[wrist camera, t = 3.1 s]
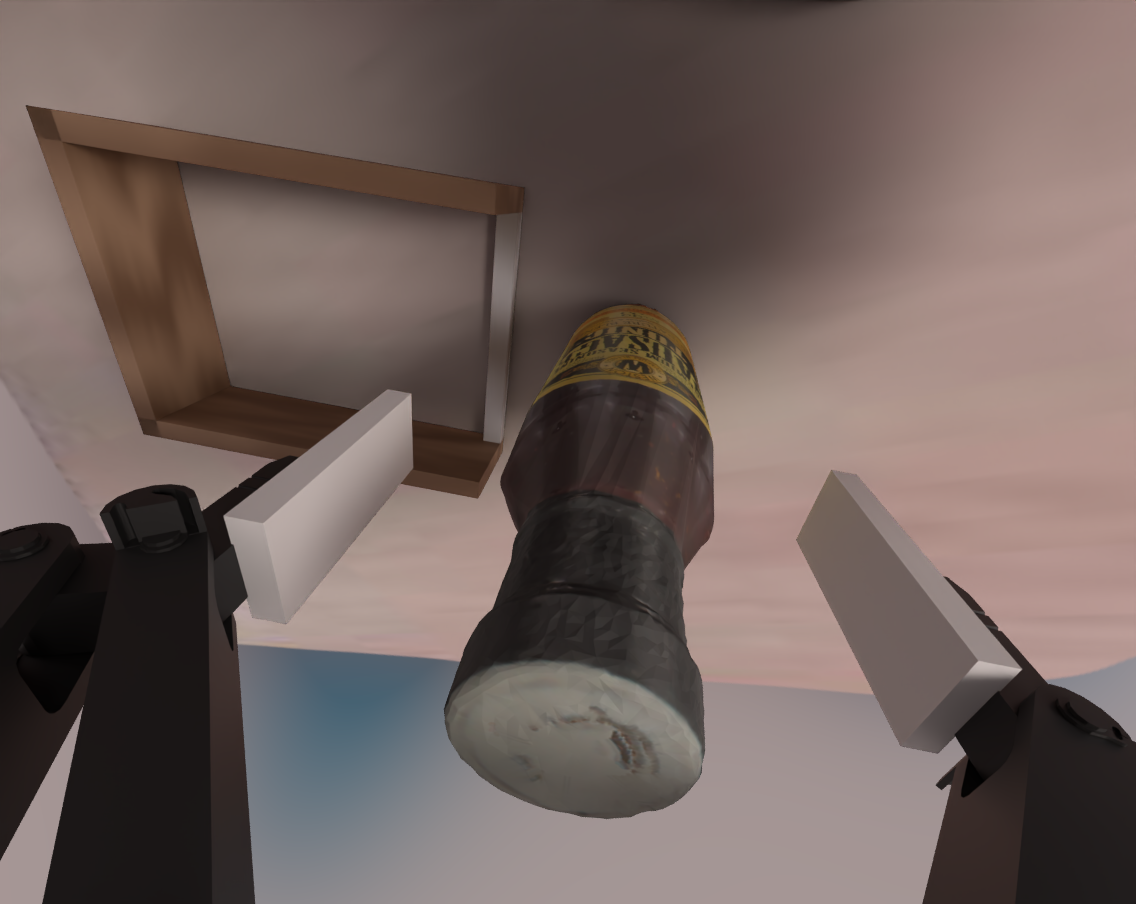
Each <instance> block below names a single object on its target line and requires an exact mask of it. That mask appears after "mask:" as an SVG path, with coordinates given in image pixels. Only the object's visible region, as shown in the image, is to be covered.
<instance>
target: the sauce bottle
mask: <svg viewBox="0 0 1136 904" xmlns="http://www.w3.org/2000/svg"><path fill="white" fill-rule="evenodd" d="M500 483H501V484H500V485H501V489H502V491H503V494H504V496H505V500H506V503H507V506H508V509H509V512H510V515H511V517H512V520H513V523H514V525H515V527H516V529H517V531H518V533H517V535H516V538H515V540H514V544H513V550H512V558H511V562H510V565H509V567H508V570H507V572H506V575H505V577H504V580H503V582H502V585H501V588H500V590H499V593H498V596H497V598H496V601H495V604H494V607H493V609H492V610H491V611H490V612H488V613H487V614H486V616H485V617H484V618H483V619H482V620H481V621H480V622H479V624H478V625H477V627H476V629H475V630H474V632H473V633H472V635H471V637H470V639H469V641H468V643H467V645H466V647H465V649H464V652H463V656H462V659H461V661H460V664H459V667H458V670H457V672H456V675H455V678H454V681H453V684H452V687H451V689H450V692H449V695H448V698H447V701H446V704H445V708H444V714H445V725H446V730H447V733H448V737H449V739H450V741H451V743H452V745H453V746H454V748H455V749H456V751H457V752H458V754H459V756H460V758H461V759H462V760H464V761H465V762H466V763H467V764H468V765H469V766H471V767H472V768H473V769H474V770H475V771H476V773H477V774H478V775H479V776H480V777H482V778H483V779H485V780H486V781H488V782H489V783H490V784H492V785H493V786H495V787H496V788H498V789H500V790H501V791H503V792H506V793H508V794H510V795H512V796H514V797H516V798H519V799H521V800H523V801H526V802H528V803H531V804H533V805H536V806H539V807H542V808H545V809H548V810H553V811H558V812H565V813H570V814H574V815H577V816H581V817H594V818H604V819H610V818H623V817H632V816H634V815H636V814H639V813H641V812H646V811H656V810H660V809H664V808H666V807H667V806H669V805H672V804H674V803H675V802H676V801H678V800H679V799H681V798H682V797H683V796H684V795H685V794H686V793H687V792H688V791H689V790H690V789H691V788H692V787H693V785H694V784H695V783H696V782H697V780H698V779H699V777H700V775H701V773H702V762H703V758H704V753H705V737H704V706H703V687H702V679H701V675H700V672H699V669H698V667H697V665H696V664H695V662H694V661H693V659H692V658H691V656H690V653H689V650H688V648H687V646H686V645H687V640H686V636H685V625H684V620H683V604H684V603H683V598H682V588H683V580H684V569H685V568H686V567H687V565H688V564H689V563H690V561H691V560H692V559H693V557H694V556H695V554H696V553H697V552H698V550H699V549H700V547H701V546H702V545H704V544H705V543H706V542H707V541H708V539H709V538H710V534H711V532H712V528H713V523H714V489H713V442H712V437H711V433H710V428H709V424H708V420H707V416H706V412H705V408H704V404H703V400H702V396H701V392H700V389H699V384H698V380H697V376H696V372H695V368H694V364H693V360H692V356H691V352H690V349H689V346H688V343H687V341H686V338H685V337H684V335H683V334H682V332H681V331H680V330H679V329H678V328H677V326H676V325H675V324H674V323H673V322H672V321H670V319H668V318H667V317H665V316H664V315H662V314H660V313H659V312H658V311H657V310H656V309H652V308H648V307H646V306H644V305H641V304H627V305H617V306H614V307H609V308H606V309H604V310H601V311H599V312H596V313H595V314H594V315H593V316H591V317H590V318H588V319H587V320H586V321H585V322H584V323H582V324H581V325H580V327H579V328H578V329H577V330H576V331H575V333H574V334H573V336H572V338H571V339H570V341H569V343H568V345H567V346H566V348H565V350H564V352H563V354H562V355H561V357H560V359H559V360H558V362H557V364H556V365H555V367H554V369H553V370H552V372H551V374H550V376H549V377H548V379H547V381H546V383H545V385H544V386H543V388H542V390H541V391H540V393H539V394H538V396H537V398H536V399H535V401H534V403H533V404H532V406H531V408H530V410H529V411H528V413H527V415H526V418H525V420H524V423H523V425H522V428H521V430H520V433H519V435H518V438H517V440H516V442H515V445H514V447H513V450H512V452H511V455H510V457H509V459H508V462H507V464H506V467H505V469H504V471H503V474H502V476H501V481H500Z"/></svg>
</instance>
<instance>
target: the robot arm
mask: <svg viewBox="0 0 1136 904" xmlns="http://www.w3.org/2000/svg"><path fill="white" fill-rule="evenodd" d="M412 469H413V442H412V402H411V393H405V392H400V391H394V390H389V389H387V390H386V391H385V392H383V393H382V394H381V395H379V396H378V397H377V398H375V399H374V400H373V401H372V402H370V403H369V404H368V405H366V406H365V407H364V408H363V409H361V410H360V411H359V412H357V413H356V414H355V415H353V416H352V417H351V418H350V419H348V420H347V421H346V422H344V423H343V424H342V425H340V426H339V427H338V428H337V429H335V430H334V431H333V432H331V433H330V434H329V435H327V436H326V437H325V438H324V439H322V440H321V441H320V442H318V443H317V444H316V445H315V446H313V447H312V448H311V449H309V450H308V451H307V452H305V453H304V454H303V455H302V456H300V457H296V456H291V455H289V456H286V457H284V458H281V459H279V460H276V461H274V462H271V463H269V464H267V465H266V466H264V467H263V468H261V469H260V470H259V471H257V472H256V473H254V474H253V475H252V477H251V478H248V479H246V480H245V481H243V482H242V483H241V484H239V487H238V488H237V487H235V488H234V489H232V490H231V491H230V492H228V493H227V494H225V495H224V496H223V497H221V498H220V499H218V500H217V501H216V502H214V503H213V504H211V505H210V506H209V507H207V508H206V509H205V510H203V511H202V512H201V508H200V505H199V502H198V499H197V496H196V494H195V492H194V490H192V489H190V488H188V487H186V486H181V485H172V484H167V485H155V486H149V487H145V488H141V489H137V490H133V491H131V492H129V493H126V494H124V495H121V496H119V497H117V498H116V499H114V500H113V501H111V502H110V503H108V504H107V505H105V507H104V508H103V510H102V511H101V513H100V516H101V519H102V521H103V523H104V525H105V527H106V530H107V532H108V534H109V536H110V539H111V541H112V543H99V544H79V543H78V541H77V539H76V537H75V535H74V533H73V531H72V530H71V528H70V527H69V526H66V525H62V524H59V523H38V524H32V525H25V526H20V527H16V528H14V529H9V530H6V531H3V532H0V860H1V858H2V856H3V854H4V853H5V851H6V849H7V847H8V845H9V843H10V841H11V840H12V838H13V836H14V834H15V832H16V830H17V828H18V827H19V825H20V823H21V821H22V819H23V817H24V815H25V813H26V811H27V810H28V808H29V806H30V804H31V802H32V800H33V799H34V797H35V795H36V793H37V791H38V789H39V787H40V785H41V783H42V782H43V780H44V778H45V776H46V774H47V772H48V771H49V768H50V767H51V765H52V763H53V761H54V759H55V757H56V756H57V754H58V752H59V750H60V748H61V746H62V744H63V742H64V741H65V739H66V737H67V735H68V733H69V731H70V729H71V727H72V726H73V724H74V722H75V720H76V718H77V716H78V714H79V713H80V711H81V709H82V707H83V711H82V715H81V720H80V725H79V730H78V735H77V740H76V744H75V749H74V754H73V759H72V763H71V768H70V773H69V778H68V783H67V787H66V792H65V797H64V802H63V807H62V812H61V816H60V821H59V826H58V831H57V836H56V841H55V845H54V850H53V855H52V860H51V864H50V869H49V874H48V879H47V884H46V888H45V894H44V898H43V903H42V904H255V895H254V881H253V865H252V851H251V836H250V822H249V808H248V792H247V778H246V764H245V748H244V735H243V719H242V704H241V690H240V675H239V660H238V646H237V631H236V621H235V618H234V615H233V612H234V611H235V610H236V609H237V608H238V607H239V606H240V605H241V604H242V603H243V602H244V601H245V599H246V598H247V601H248V605H249V608H250V612H251V615H252V618H257V619H262V620H267V621H272V622H277V623H282V624H287V623H288V622H289V621H290V619H291V618H292V617H293V616H294V614H295V613H296V612H297V611H298V609H299V608H300V607H301V606H302V605H303V603H304V602H305V601H306V600H307V598H308V597H309V596H310V595H311V593H312V592H313V591H314V590H315V589H316V587H317V586H318V585H319V584H320V582H321V581H322V580H323V579H324V577H325V576H326V575H327V574H328V573H329V571H330V570H331V569H332V568H333V566H334V565H335V564H336V563H337V561H338V560H339V559H340V558H341V556H342V555H343V554H344V553H345V552H346V550H347V549H348V548H349V547H350V545H351V544H352V543H353V542H354V540H355V539H356V538H357V537H358V536H359V534H360V533H361V532H362V531H363V529H364V528H365V527H366V526H367V524H368V523H369V522H370V521H371V519H372V518H373V517H374V516H375V515H376V513H377V512H378V511H379V510H380V508H381V507H382V506H383V505H384V503H385V502H386V501H387V500H388V499H389V497H390V496H391V495H392V494H393V492H394V491H395V490H396V489H397V487H398V486H399V485H400V484H401V482H402V481H403V480H404V479H405V478H406V476H407V475H408V474H409V473H410V471H411V470H412ZM796 540H797V542H798V544H799V546H800V548H801V550H802V552H803V554H804V556H805V558H806V560H807V562H808V564H809V566H810V568H811V570H812V572H813V574H814V576H815V578H816V580H817V582H818V584H819V586H820V588H821V590H822V592H823V594H824V596H825V598H826V600H827V602H828V604H829V606H830V608H831V610H832V612H833V613H834V615H835V617H836V619H837V621H838V623H839V625H840V627H841V629H842V631H843V633H844V635H845V637H846V639H847V641H848V643H849V645H850V647H851V649H852V651H853V653H854V655H855V657H856V659H857V661H858V663H859V665H860V667H861V669H862V671H863V673H864V675H865V677H866V679H867V681H868V683H869V685H870V687H871V689H872V691H873V693H874V695H875V696H876V698H877V700H878V702H879V704H880V706H881V708H882V710H883V712H884V714H885V716H886V718H887V720H888V722H889V724H890V726H891V728H892V730H893V732H894V734H895V736H896V738H897V740H898V742H899V744H900V746H903V747H907V748H912V749H917V750H922V751H927V752H932V753H939V752H940V751H941V750H942V749H943V748H944V747H945V746H946V745H947V744H948V743H949V742H950V741H951V740H952V739H953V738H954V737H955V736H956V738H957V740H958V741H959V743H960V745H961V746H962V748H963V749H964V751H965V753H966V756H964V757H963V758H962V759H961V760H960V761H959V762H958V763H957V764H956V765H955V766H954V767H953V768H952V769H951V770H950V771H949V772H947V773H946V774H945V775H944V776H943V777H942V778H941V779H940V780H939V782H938V783H937V784H936V786H937V787H938V788H940V789H941V790H942V789H944V788H945V787H946V786H947V785H951V789H950V793H949V797H948V801H947V806H946V810H945V814H944V818H943V822H942V826H941V830H940V834H939V839H938V842H937V846H936V850H935V854H934V858H933V863H932V867H931V871H930V875H929V879H928V883H927V887H926V891H925V896H924V899H923V904H1136V742H1134V741H1132V740H1131V738H1130V736H1129V735H1128V734H1127V733H1126V732H1125V731H1124V729H1123V728H1122V727H1121V726H1120V725H1119V724H1118V723H1117V722H1116V721H1115V720H1114V719H1113V718H1111V717H1110V716H1109V715H1108V714H1107V713H1106V712H1104V711H1103V710H1102V709H1101V708H1099V707H1098V706H1096V705H1095V704H1093V703H1091V702H1090V701H1089V700H1087V699H1085V698H1084V697H1082V696H1080V695H1078V694H1076V693H1074V692H1072V691H1070V690H1067V689H1066V688H1062V687H1058V686H1055V685H1051V684H1048V683H1047V682H1046V681H1045V680H1044V679H1043V678H1042V677H1041V676H1040V674H1039V673H1038V672H1037V671H1036V670H1035V669H1034V668H1033V666H1032V665H1031V664H1030V663H1029V662H1028V661H1027V660H1026V658H1025V657H1024V656H1023V655H1022V654H1021V653H1020V652H1019V650H1018V649H1017V648H1016V647H1015V646H1014V645H1013V644H1012V643H1011V641H1010V640H1009V639H1008V638H1007V637H1006V636H1005V635H1004V633H1003V632H1002V631H998V627H997V625H996V624H995V623H994V622H993V621H992V620H991V619H990V617H989V616H985V612H984V611H983V610H982V608H981V607H980V606H979V605H978V604H977V603H976V602H975V600H974V599H973V598H972V597H971V596H970V595H969V594H968V593H967V592H966V591H964V590H963V589H962V588H960V587H959V586H958V585H957V584H955V583H954V582H953V581H951V580H950V579H949V578H947V577H944V576H942V574H941V573H940V572H939V571H938V570H937V569H936V567H935V566H934V565H933V564H932V563H931V561H930V560H929V559H928V558H927V557H926V556H925V554H924V553H923V552H922V551H921V550H920V549H919V547H918V546H917V545H916V544H915V543H914V542H913V540H912V539H911V538H910V537H909V536H908V534H907V533H906V532H905V531H904V530H903V529H902V527H901V526H900V525H899V524H898V523H897V522H896V520H895V519H894V518H893V517H892V516H891V514H890V513H889V512H888V511H887V510H886V509H885V507H884V506H883V505H882V504H881V503H880V502H879V500H878V499H877V498H876V497H875V496H874V495H873V493H872V492H871V491H870V490H869V489H868V487H867V486H866V485H865V484H864V483H863V482H862V480H861V479H860V478H859V477H858V476H857V475H856V474H851V473H845V472H840V471H834V470H831V472H830V474H829V476H828V478H827V480H826V482H825V484H824V485H823V487H822V489H821V491H820V493H819V495H818V497H817V499H816V501H815V503H814V505H813V507H812V509H811V511H810V513H809V515H808V517H807V519H806V521H805V523H804V525H803V527H802V529H801V531H800V533H799V535H798V537H797V539H796ZM83 705H84V706H83Z"/></svg>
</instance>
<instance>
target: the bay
mask: <svg viewBox="0 0 1136 904" xmlns="http://www.w3.org/2000/svg"><path fill="white" fill-rule="evenodd" d="M26 108H27V110H28V113H29V116H30V119H31V122H32V124H33V127H34V130H35V133H36V136H37V138H38V141H39V144H40V147H41V149H42V152H43V155H44V158H45V161H46V163H47V166H48V169H49V172H50V175H51V177H52V180H53V183H54V186H55V188H56V191H57V194H58V197H59V200H60V202H61V205H62V208H63V211H64V214H65V216H66V219H67V222H68V225H69V227H70V230H71V233H72V236H73V239H74V241H75V244H76V247H77V250H78V253H79V255H80V258H81V261H82V264H83V266H84V269H85V272H86V275H87V278H88V280H89V283H90V286H91V289H92V292H93V294H94V297H95V300H96V303H97V305H98V308H99V311H100V314H101V317H102V319H103V322H104V325H105V328H106V331H107V333H108V336H109V339H110V342H111V344H112V347H113V350H114V353H115V356H116V358H117V361H118V364H119V367H120V369H121V372H122V375H123V378H124V381H125V383H126V386H127V389H128V392H129V395H130V397H131V400H132V403H133V406H134V408H135V411H136V414H137V417H138V420H139V422H140V425H141V428H142V431H143V434H145V435H150V436H156V437H161V438H166V439H171V440H176V441H182V442H187V443H192V444H197V445H202V446H208V447H213V448H218V449H223V450H228V451H234V452H239V453H244V454H249V455H254V456H260V457H265V458H270V459H275V460H279V459H281V458H284V457H286V456H289V455H291V456H296V457H300V456H302V455H303V454H304V453H305V452H307V451H308V450H309V449H311V448H312V447H313V446H315V445H316V444H317V443H318V442H320V441H321V440H322V439H324V438H325V437H326V436H327V435H329V434H330V433H331V432H333V431H334V430H335V429H337V428H338V427H339V426H340V425H342V424H343V423H344V422H346V421H347V420H348V419H350V418H351V417H352V416H353V415H355V414H356V413H357V412H359V411H360V410H355V409H349V408H344V407H339V406H333V405H328V404H323V403H317V402H312V401H307V400H301V399H296V398H291V397H285V396H280V395H275V394H269V393H264V392H258V391H253V390H248V389H242V388H237V387H232V386H230V382H229V377H228V373H227V369H226V365H225V361H224V356H223V352H222V348H221V344H220V340H219V335H218V331H217V327H216V323H215V319H214V314H213V310H212V306H211V302H210V298H209V293H208V289H207V285H206V281H205V277H204V272H203V268H202V264H201V260H200V256H199V251H198V247H197V243H196V239H195V235H194V230H193V226H192V222H191V218H190V214H189V209H188V205H187V201H186V197H185V193H184V188H183V184H182V180H181V176H180V172H179V167H178V163H177V161H179V162H185V163H191V164H197V165H203V166H209V167H214V168H220V169H226V170H232V171H238V172H244V173H250V174H256V175H261V176H267V177H273V178H279V179H285V180H291V181H297V182H303V183H309V184H314V185H320V186H326V187H332V188H338V189H344V190H350V191H356V192H362V193H367V194H373V195H379V196H385V197H391V198H397V199H403V200H409V201H414V202H420V203H426V204H432V205H438V206H444V207H450V208H456V209H462V210H467V211H473V212H479V213H485V214H491V215H497V219H496V236H495V253H494V270H493V286H492V303H491V320H490V337H489V354H488V370H487V387H486V404H485V421H484V434H483V433H477V432H472V431H467V430H461V429H456V428H451V427H445V426H440V425H435V424H429V423H424V422H419V421H413V420H412V442H413V469H412V470H411V471H410V473H409V474H408V475H407V476H406V478H405V479H404V480H403V481H402V482H401V484H405V485H410V486H415V487H421V488H426V489H431V490H436V491H441V492H447V493H452V494H457V495H462V496H467V497H472V498H479V496H480V494H481V492H482V490H483V488H484V486H485V484H486V482H487V481H488V479H489V477H490V475H491V473H492V471H493V469H494V467H495V465H496V463H497V461H498V459H499V457H500V455H501V453H502V449H503V437H504V425H505V414H506V402H507V390H508V378H509V366H510V354H511V342H512V331H513V319H514V307H515V295H516V283H517V271H518V259H519V248H520V236H521V224H522V212H523V200H524V188H523V187H517V186H511V185H505V184H499V183H493V182H487V181H481V180H475V179H469V178H463V177H458V176H452V175H446V174H440V173H434V172H428V171H422V170H416V169H410V168H404V167H398V166H392V165H386V164H380V163H374V162H368V161H362V160H356V159H350V158H344V157H338V156H332V155H326V154H320V153H314V152H308V151H302V150H296V149H290V148H284V147H278V146H272V145H266V144H260V143H254V142H248V141H242V140H236V139H231V138H225V137H219V136H213V135H207V134H201V133H195V132H189V131H183V130H177V129H171V128H165V127H159V126H153V125H147V124H140V123H134V122H128V121H122V120H115V119H109V118H103V117H96V116H90V115H84V114H77V113H71V112H65V111H58V110H52V109H46V108H40V107H33V106H27V105H26Z"/></svg>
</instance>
